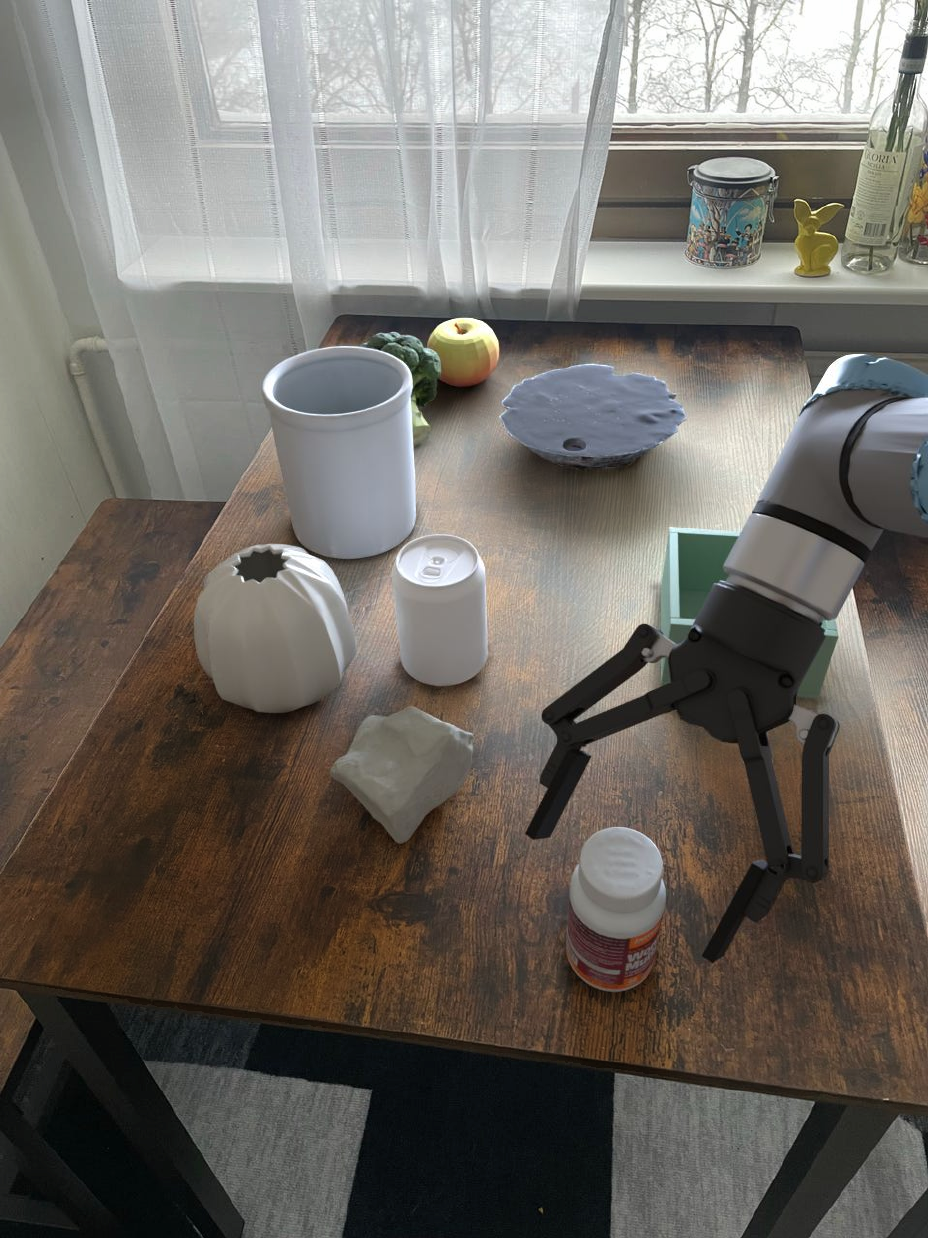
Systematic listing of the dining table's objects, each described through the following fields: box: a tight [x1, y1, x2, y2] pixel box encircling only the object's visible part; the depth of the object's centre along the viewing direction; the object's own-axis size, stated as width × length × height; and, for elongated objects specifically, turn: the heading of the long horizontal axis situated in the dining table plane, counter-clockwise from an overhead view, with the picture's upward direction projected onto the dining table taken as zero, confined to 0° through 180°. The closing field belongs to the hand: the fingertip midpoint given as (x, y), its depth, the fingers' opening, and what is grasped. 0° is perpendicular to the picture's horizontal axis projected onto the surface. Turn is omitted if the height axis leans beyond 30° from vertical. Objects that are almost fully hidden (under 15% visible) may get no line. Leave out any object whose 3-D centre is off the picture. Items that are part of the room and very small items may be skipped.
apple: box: [426, 317, 500, 388], centre depth 124 cm, size 10×10×8 cm
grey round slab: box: [498, 363, 687, 471], centre depth 111 cm, size 22×22×5 cm
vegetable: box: [358, 331, 441, 447], centre depth 115 cm, size 12×13×15 cm
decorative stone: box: [329, 705, 475, 845], centre depth 73 cm, size 11×9×10 cm
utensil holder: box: [261, 345, 417, 560], centre depth 97 cm, size 15×15×18 cm
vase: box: [193, 542, 358, 714], centre depth 81 cm, size 14×14×13 cm
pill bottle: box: [565, 826, 667, 993], centre depth 61 cm, size 6×6×11 cm
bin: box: [660, 526, 839, 700], centre depth 84 cm, size 14×14×8 cm
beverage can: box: [390, 533, 489, 687], centre depth 82 cm, size 8×8×12 cm
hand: (619, 893), depth 60 cm, fingers open, 13 cm apart
